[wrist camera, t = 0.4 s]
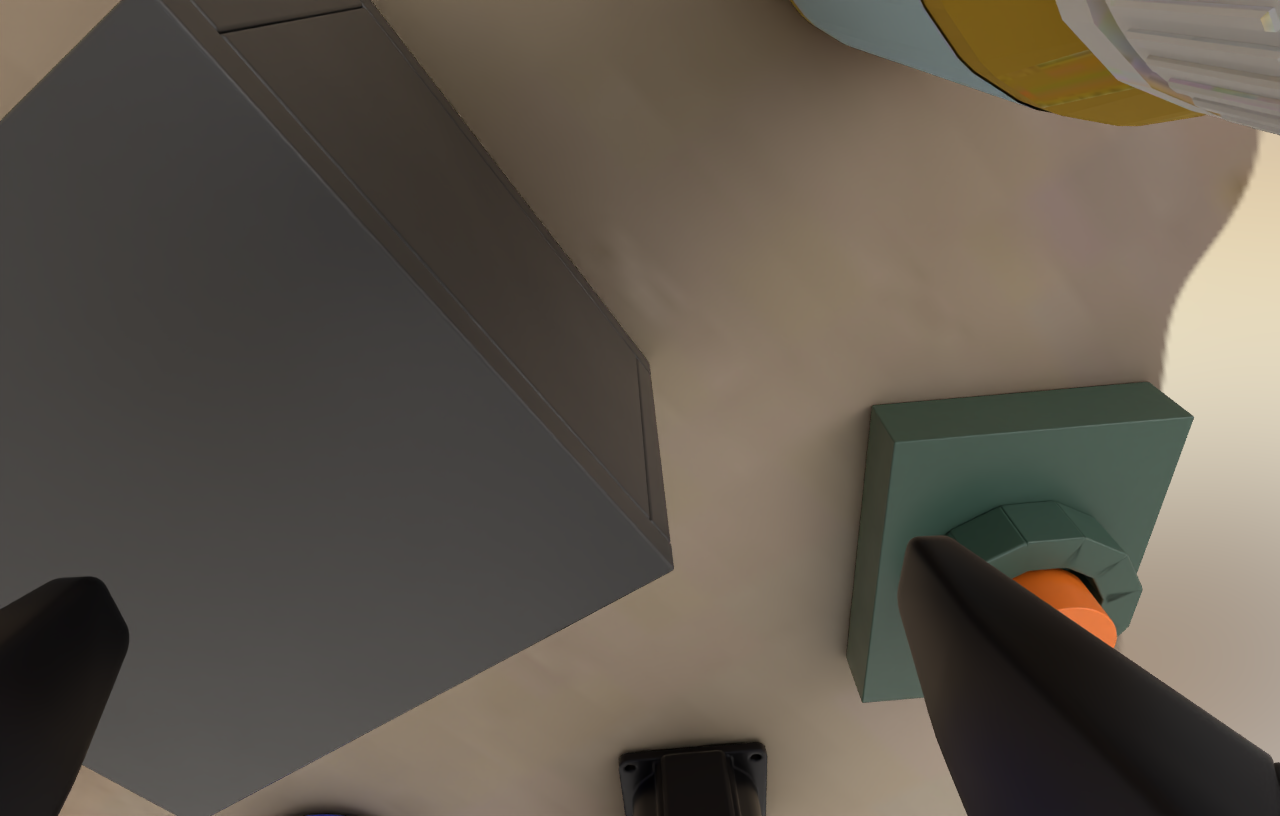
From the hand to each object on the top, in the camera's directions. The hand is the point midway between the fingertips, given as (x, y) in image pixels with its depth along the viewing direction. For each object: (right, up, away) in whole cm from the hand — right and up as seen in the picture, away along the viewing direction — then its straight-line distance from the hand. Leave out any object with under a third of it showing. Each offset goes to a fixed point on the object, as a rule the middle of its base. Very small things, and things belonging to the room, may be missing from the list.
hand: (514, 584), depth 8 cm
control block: (+14, -3, +19) cm, 23 cm away
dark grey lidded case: (-8, +4, +14) cm, 16 cm away
